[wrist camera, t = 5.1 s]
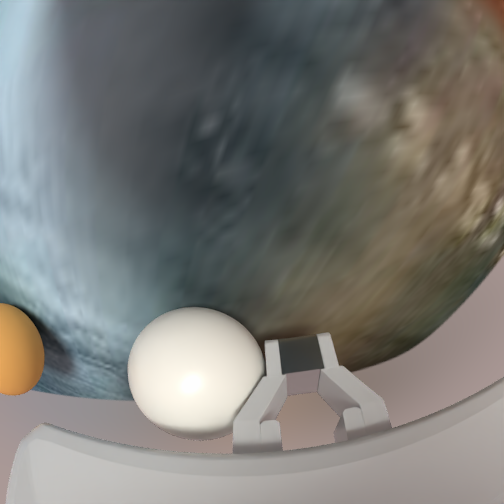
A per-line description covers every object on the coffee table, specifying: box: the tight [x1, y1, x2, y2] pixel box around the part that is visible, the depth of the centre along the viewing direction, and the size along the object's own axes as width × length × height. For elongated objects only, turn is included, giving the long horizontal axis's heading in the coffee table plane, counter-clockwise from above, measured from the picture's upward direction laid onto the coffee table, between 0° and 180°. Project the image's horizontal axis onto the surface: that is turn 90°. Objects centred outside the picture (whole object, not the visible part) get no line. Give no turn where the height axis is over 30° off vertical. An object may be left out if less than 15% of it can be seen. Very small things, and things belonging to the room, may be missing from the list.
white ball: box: [128, 307, 267, 441], centre depth 10 cm, size 6×6×6 cm
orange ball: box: [0, 303, 44, 395], centre depth 10 cm, size 6×6×6 cm
